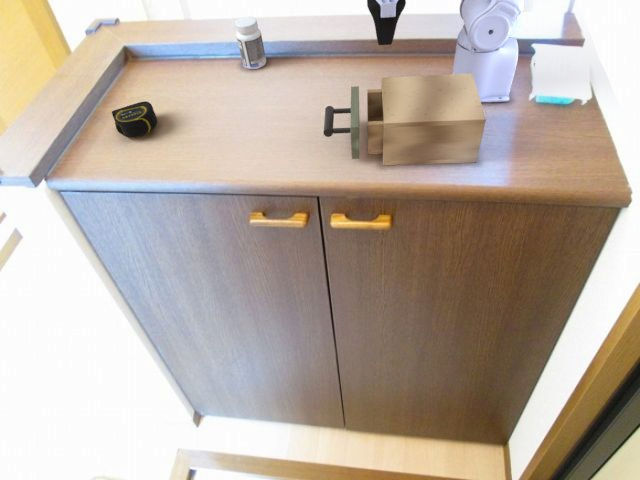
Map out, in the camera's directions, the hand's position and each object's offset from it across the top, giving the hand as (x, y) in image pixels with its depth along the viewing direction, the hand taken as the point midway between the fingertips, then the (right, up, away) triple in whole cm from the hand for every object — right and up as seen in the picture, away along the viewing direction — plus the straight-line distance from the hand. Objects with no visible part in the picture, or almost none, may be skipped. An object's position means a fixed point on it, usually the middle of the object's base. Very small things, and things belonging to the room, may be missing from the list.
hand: (384, 42), depth 74 cm
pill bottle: (-23, +3, +18) cm, 30 cm away
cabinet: (+6, -16, -2) cm, 17 cm away
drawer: (-1, -15, -2) cm, 16 cm away
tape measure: (-42, -12, +7) cm, 45 cm away
